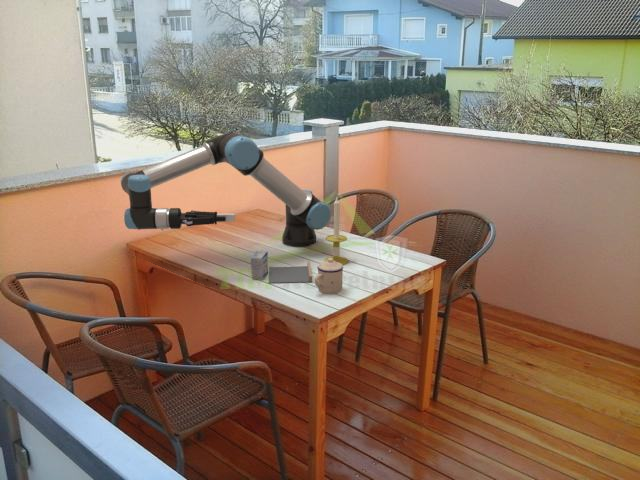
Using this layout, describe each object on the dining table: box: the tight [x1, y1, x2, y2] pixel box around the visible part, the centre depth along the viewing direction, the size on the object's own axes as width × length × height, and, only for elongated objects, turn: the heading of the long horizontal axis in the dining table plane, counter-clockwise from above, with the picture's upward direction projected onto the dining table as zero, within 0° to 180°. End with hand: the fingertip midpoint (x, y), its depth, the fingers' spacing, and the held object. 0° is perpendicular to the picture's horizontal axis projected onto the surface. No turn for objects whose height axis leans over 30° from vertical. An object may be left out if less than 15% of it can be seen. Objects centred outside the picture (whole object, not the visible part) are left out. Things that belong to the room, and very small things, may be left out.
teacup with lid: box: [314, 257, 344, 295], centre depth 208 cm, size 12×9×12 cm
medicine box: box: [250, 250, 269, 281], centre depth 222 cm, size 8×4×9 cm, turn 170°
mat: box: [268, 260, 313, 285], centre depth 224 cm, size 16×16×2 cm
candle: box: [323, 197, 349, 266], centre depth 235 cm, size 10×10×27 cm
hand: (235, 217), depth 216 cm, fingers closed
